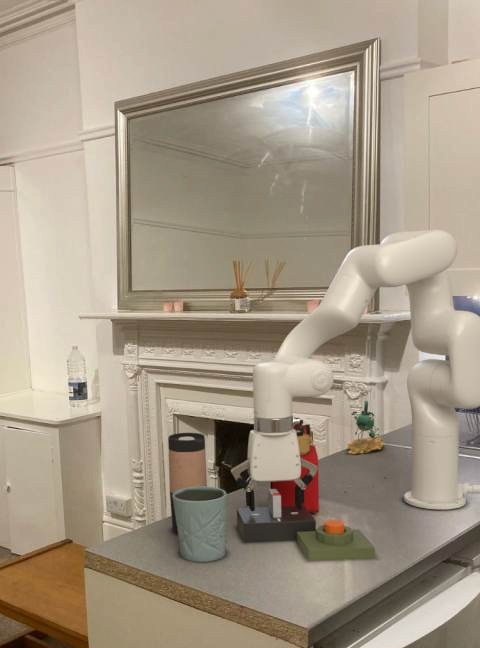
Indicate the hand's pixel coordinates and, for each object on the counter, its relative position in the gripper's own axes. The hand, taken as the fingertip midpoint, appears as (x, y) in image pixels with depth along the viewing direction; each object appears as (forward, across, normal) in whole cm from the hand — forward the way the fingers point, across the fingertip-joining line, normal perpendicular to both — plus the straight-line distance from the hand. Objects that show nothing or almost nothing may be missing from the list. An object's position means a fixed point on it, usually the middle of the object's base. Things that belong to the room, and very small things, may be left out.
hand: (275, 508), depth 164 cm
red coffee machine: (+6, -7, -16) cm, 18 cm away
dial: (+1, 0, 0) cm, 1 cm away
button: (+2, -9, +11) cm, 14 cm away
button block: (+5, -9, +11) cm, 15 cm away
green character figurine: (+6, -39, -68) cm, 79 cm away
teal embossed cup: (+5, +16, +10) cm, 20 cm away
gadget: (+5, 0, 0) cm, 5 cm away
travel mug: (+5, +17, -4) cm, 18 cm away
